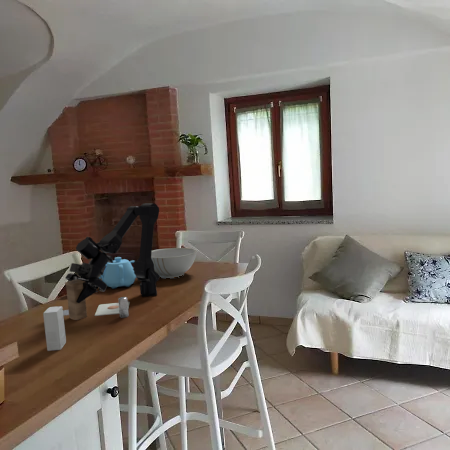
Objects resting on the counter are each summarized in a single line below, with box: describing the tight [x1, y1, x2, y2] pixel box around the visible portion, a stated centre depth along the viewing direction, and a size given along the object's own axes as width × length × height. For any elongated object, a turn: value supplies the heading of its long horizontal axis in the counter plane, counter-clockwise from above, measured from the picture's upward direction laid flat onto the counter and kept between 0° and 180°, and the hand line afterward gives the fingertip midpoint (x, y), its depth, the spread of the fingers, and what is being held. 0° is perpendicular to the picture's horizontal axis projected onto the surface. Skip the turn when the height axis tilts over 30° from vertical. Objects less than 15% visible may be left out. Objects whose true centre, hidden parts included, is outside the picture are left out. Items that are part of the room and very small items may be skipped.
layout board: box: [63, 301, 131, 321], centre depth 172 cm, size 26×16×1 cm, turn 99°
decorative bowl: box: [151, 247, 198, 279], centre depth 226 cm, size 27×27×12 cm
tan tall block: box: [64, 279, 88, 321], centre depth 164 cm, size 5×5×14 cm
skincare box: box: [42, 306, 67, 352], centre depth 137 cm, size 6×4×12 cm
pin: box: [118, 296, 130, 319], centre depth 163 cm, size 3×3×7 cm
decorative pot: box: [98, 256, 137, 290], centre depth 211 cm, size 16×16×14 cm
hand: (73, 301), depth 163 cm, fingers closed on tan tall block, 5 cm apart
